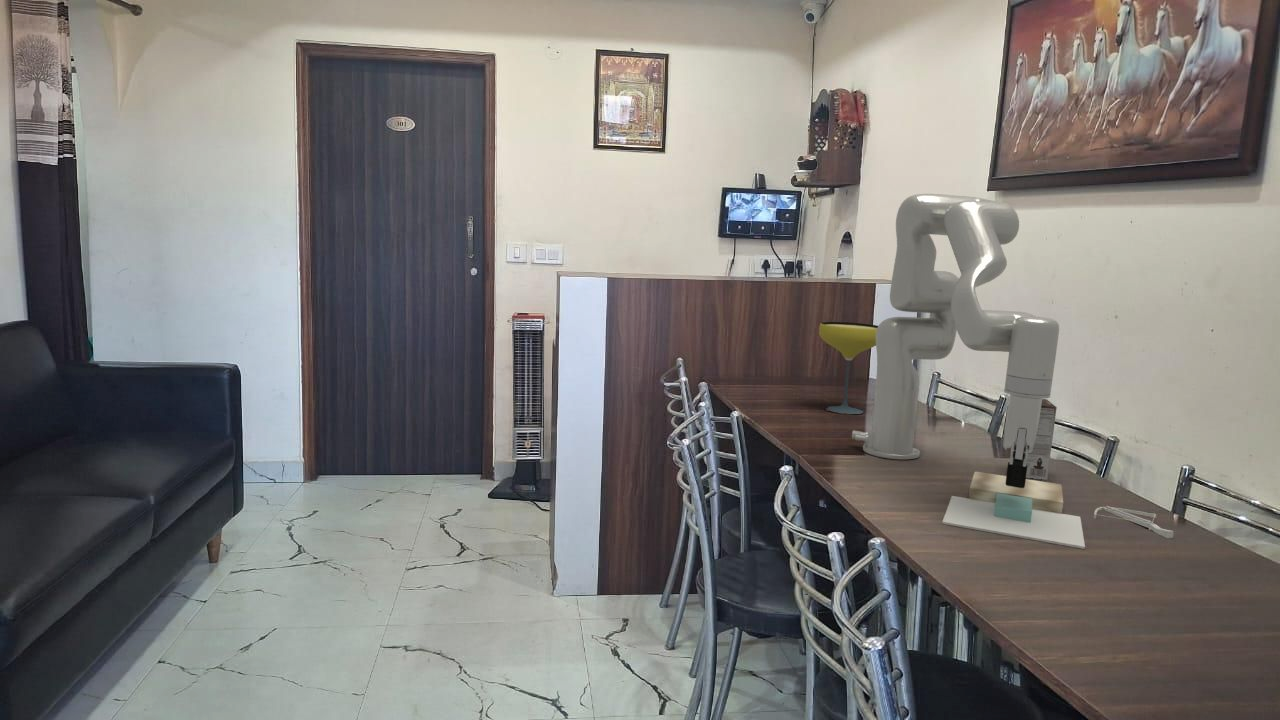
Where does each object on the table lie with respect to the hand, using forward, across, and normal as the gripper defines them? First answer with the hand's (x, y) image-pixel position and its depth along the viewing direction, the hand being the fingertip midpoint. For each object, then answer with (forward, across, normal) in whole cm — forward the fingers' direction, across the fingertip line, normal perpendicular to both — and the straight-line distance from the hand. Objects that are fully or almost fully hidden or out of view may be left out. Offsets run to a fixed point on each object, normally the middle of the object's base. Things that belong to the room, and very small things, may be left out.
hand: (1014, 485), depth 154 cm
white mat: (+5, +4, 0) cm, 7 cm away
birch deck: (+6, -12, 0) cm, 13 cm away
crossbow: (+6, -8, +20) cm, 23 cm away
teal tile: (+5, 0, 0) cm, 5 cm away
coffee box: (+6, -34, +2) cm, 35 cm away
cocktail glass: (+7, -80, -47) cm, 92 cm away
